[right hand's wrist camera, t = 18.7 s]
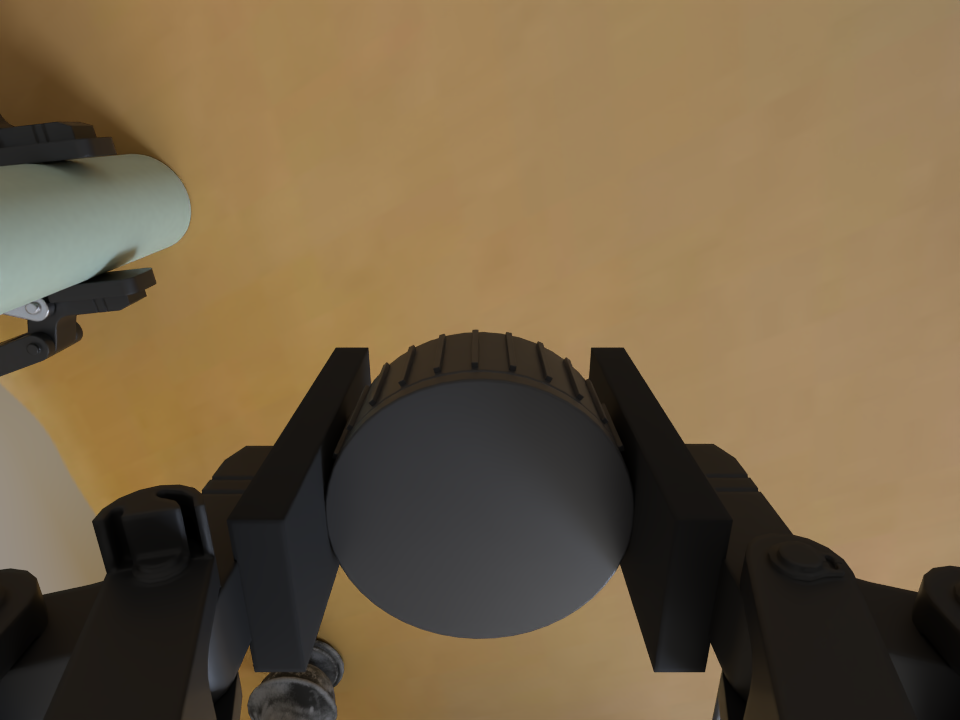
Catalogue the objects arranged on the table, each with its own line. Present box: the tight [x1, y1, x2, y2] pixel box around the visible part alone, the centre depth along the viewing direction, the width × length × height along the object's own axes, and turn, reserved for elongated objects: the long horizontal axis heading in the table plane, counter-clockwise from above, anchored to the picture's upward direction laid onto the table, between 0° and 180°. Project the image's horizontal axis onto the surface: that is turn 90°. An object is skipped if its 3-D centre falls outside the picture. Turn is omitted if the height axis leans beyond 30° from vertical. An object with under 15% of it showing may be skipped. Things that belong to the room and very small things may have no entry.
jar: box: [0, 154, 191, 315], centre depth 24 cm, size 5×5×16 cm
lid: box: [325, 330, 635, 639], centre depth 11 cm, size 5×5×2 cm
